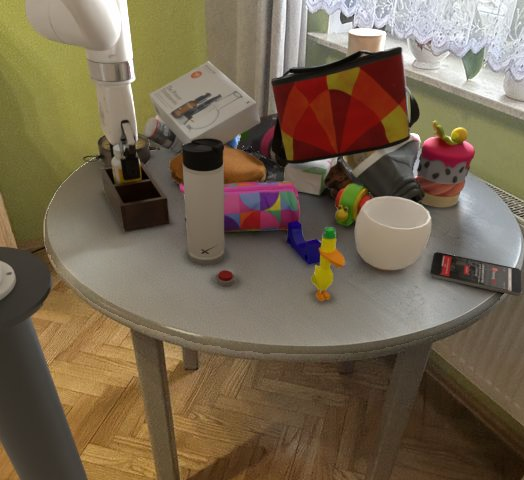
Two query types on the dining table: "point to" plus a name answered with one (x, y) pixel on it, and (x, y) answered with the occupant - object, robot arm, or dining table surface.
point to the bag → (343, 107)
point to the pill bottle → (162, 135)
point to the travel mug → (204, 199)
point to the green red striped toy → (350, 203)
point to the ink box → (309, 175)
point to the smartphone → (476, 273)
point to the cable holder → (303, 244)
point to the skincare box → (205, 106)
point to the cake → (444, 166)
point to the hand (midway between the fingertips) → (125, 168)
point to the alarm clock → (141, 147)
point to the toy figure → (327, 263)
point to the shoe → (268, 145)
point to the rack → (136, 201)
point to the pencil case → (259, 206)
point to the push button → (225, 278)
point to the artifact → (337, 179)
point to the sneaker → (392, 171)
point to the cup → (391, 232)
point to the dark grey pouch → (256, 131)
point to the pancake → (228, 167)
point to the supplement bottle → (117, 166)
